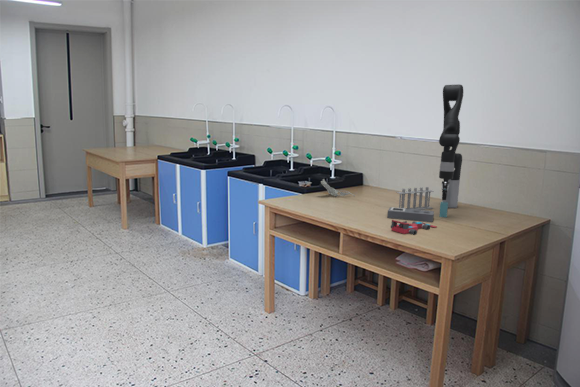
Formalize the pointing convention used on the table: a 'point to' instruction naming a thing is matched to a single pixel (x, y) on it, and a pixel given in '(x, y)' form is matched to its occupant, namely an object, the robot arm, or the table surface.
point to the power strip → (410, 214)
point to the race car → (409, 227)
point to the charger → (443, 209)
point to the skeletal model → (333, 190)
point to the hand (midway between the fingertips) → (444, 198)
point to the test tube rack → (415, 198)
